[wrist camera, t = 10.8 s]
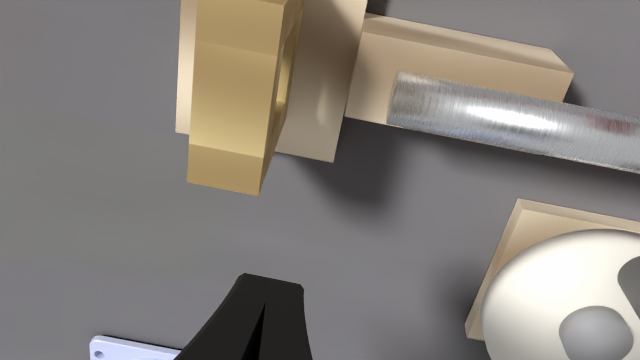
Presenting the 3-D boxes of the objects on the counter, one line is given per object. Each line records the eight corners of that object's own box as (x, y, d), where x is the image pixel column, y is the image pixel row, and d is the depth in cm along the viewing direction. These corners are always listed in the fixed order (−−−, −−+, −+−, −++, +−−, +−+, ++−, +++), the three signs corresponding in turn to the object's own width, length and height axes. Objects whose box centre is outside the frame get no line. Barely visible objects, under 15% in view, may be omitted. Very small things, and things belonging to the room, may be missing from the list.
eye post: (497, 182, 21) (540, 292, 16) (183, 121, 21) (116, 209, 16) (581, -31, 17) (678, 16, 12) (195, -108, 17) (110, -97, 12)
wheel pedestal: (612, 353, 25) (625, 379, 24) (464, 324, 25) (469, 349, 24) (690, 232, 22) (710, 254, 20) (517, 198, 22) (527, 219, 20)
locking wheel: (741, 277, 20) (827, 373, 16) (604, 402, 24) (648, 504, 20) (556, 196, 19) (602, 279, 16) (444, 340, 23) (458, 435, 19)
